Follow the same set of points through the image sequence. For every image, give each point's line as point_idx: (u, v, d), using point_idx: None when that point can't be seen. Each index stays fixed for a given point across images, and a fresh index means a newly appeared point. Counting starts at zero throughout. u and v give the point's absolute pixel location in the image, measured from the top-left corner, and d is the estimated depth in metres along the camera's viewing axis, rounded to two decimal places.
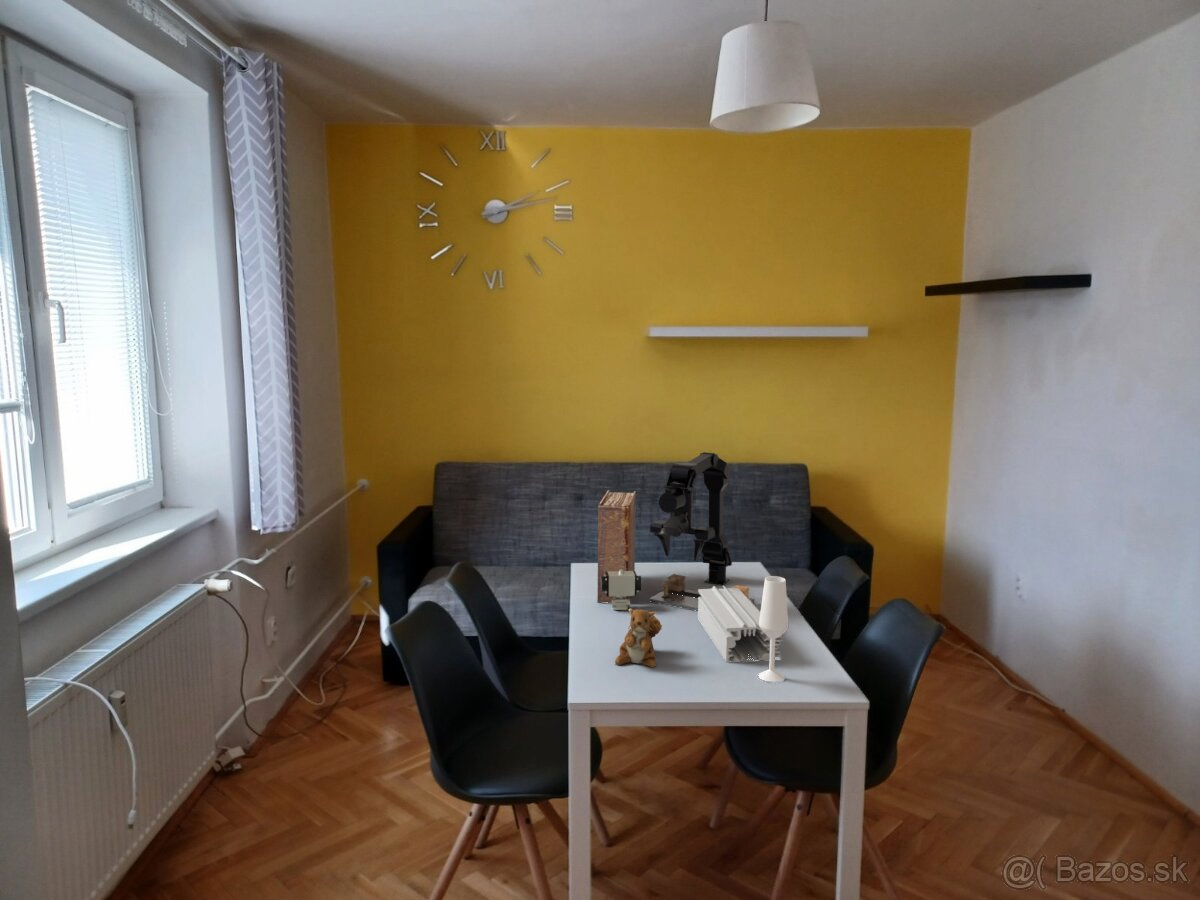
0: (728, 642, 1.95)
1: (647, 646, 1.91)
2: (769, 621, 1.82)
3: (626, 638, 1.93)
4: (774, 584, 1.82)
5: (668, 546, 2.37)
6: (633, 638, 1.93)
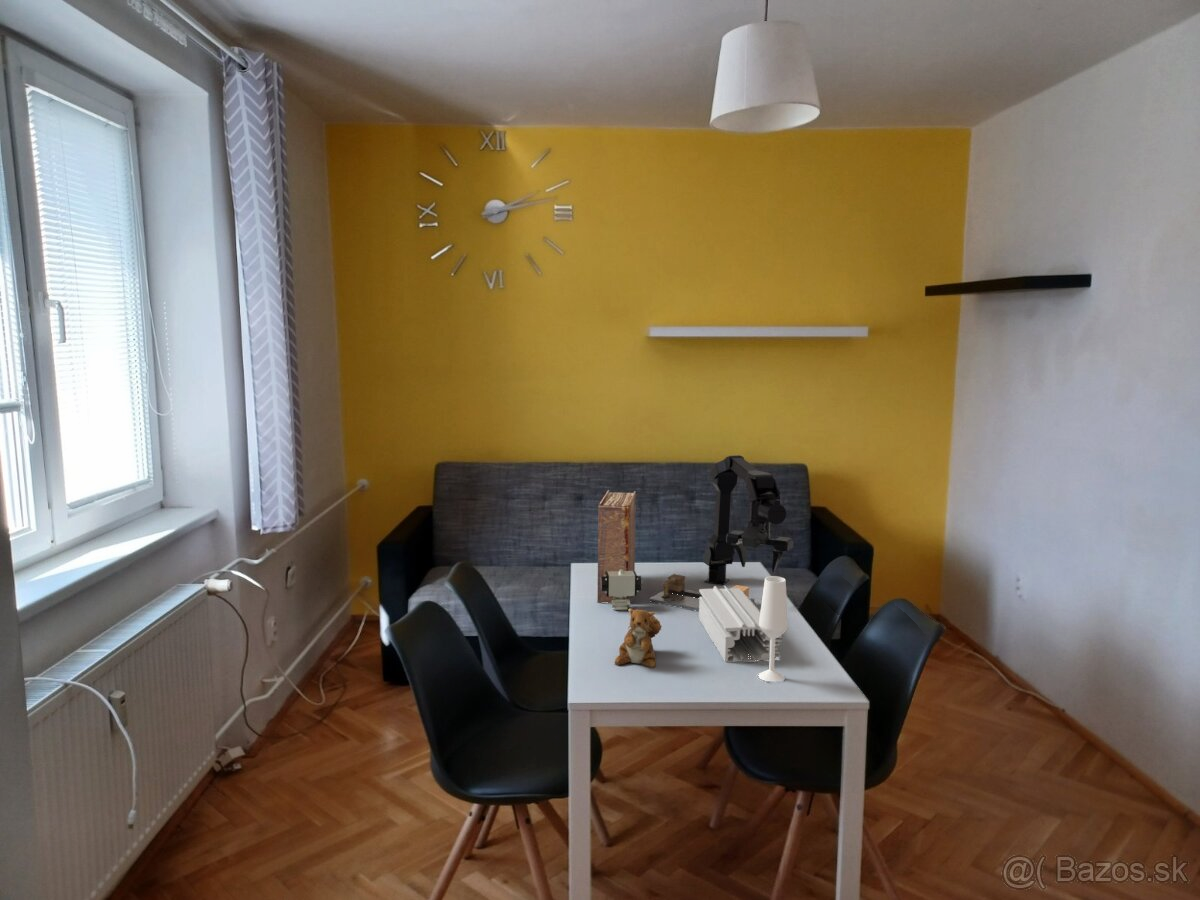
0: (727, 642, 1.95)
1: (647, 646, 1.91)
2: (769, 621, 1.82)
3: (626, 638, 1.93)
4: (774, 584, 1.82)
5: (744, 557, 2.34)
6: (633, 638, 1.93)
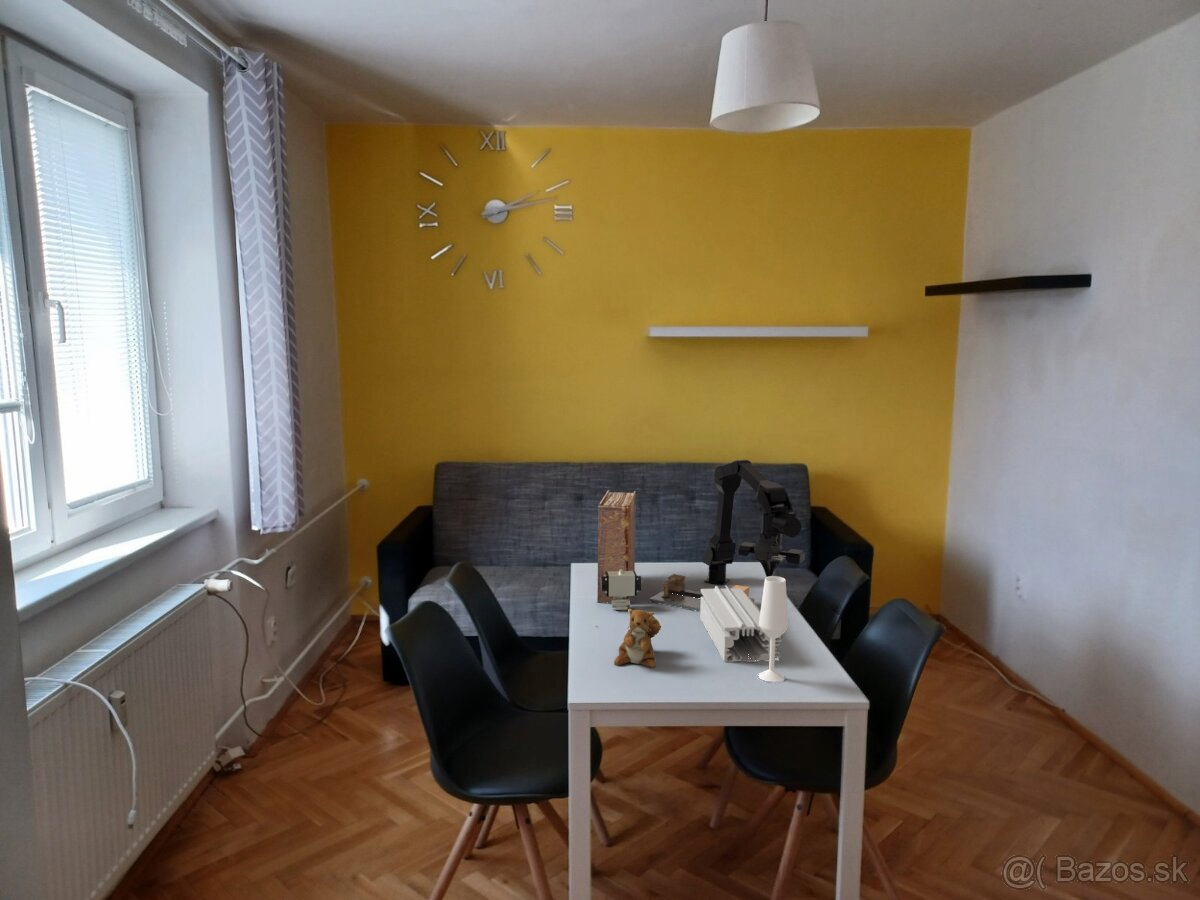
0: (726, 642, 1.95)
1: (646, 646, 1.91)
2: (769, 621, 1.82)
3: (625, 638, 1.93)
4: (774, 584, 1.82)
5: (769, 571, 2.32)
6: (632, 638, 1.92)
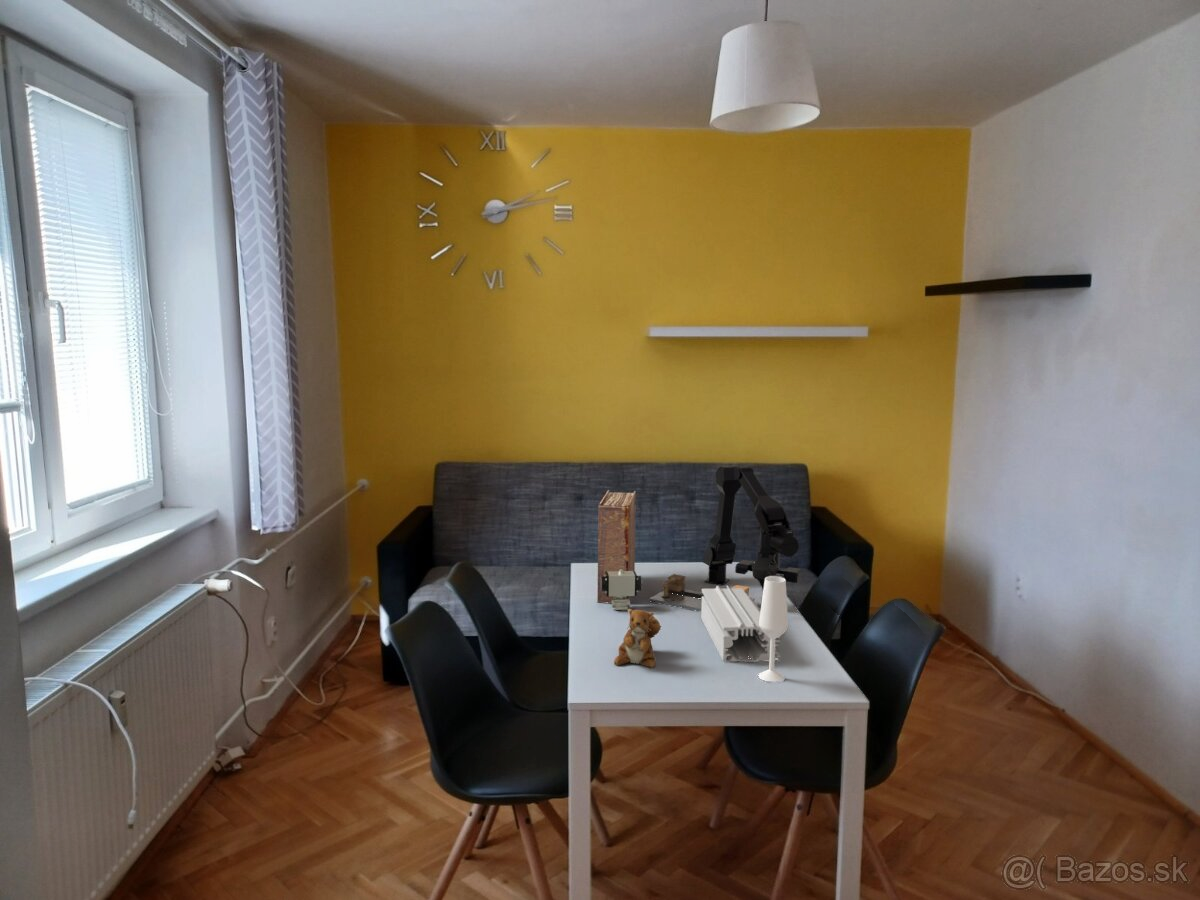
0: (725, 641, 1.95)
1: (646, 646, 1.91)
2: (769, 621, 1.82)
3: (625, 638, 1.93)
4: (774, 584, 1.82)
5: None
6: (632, 638, 1.92)
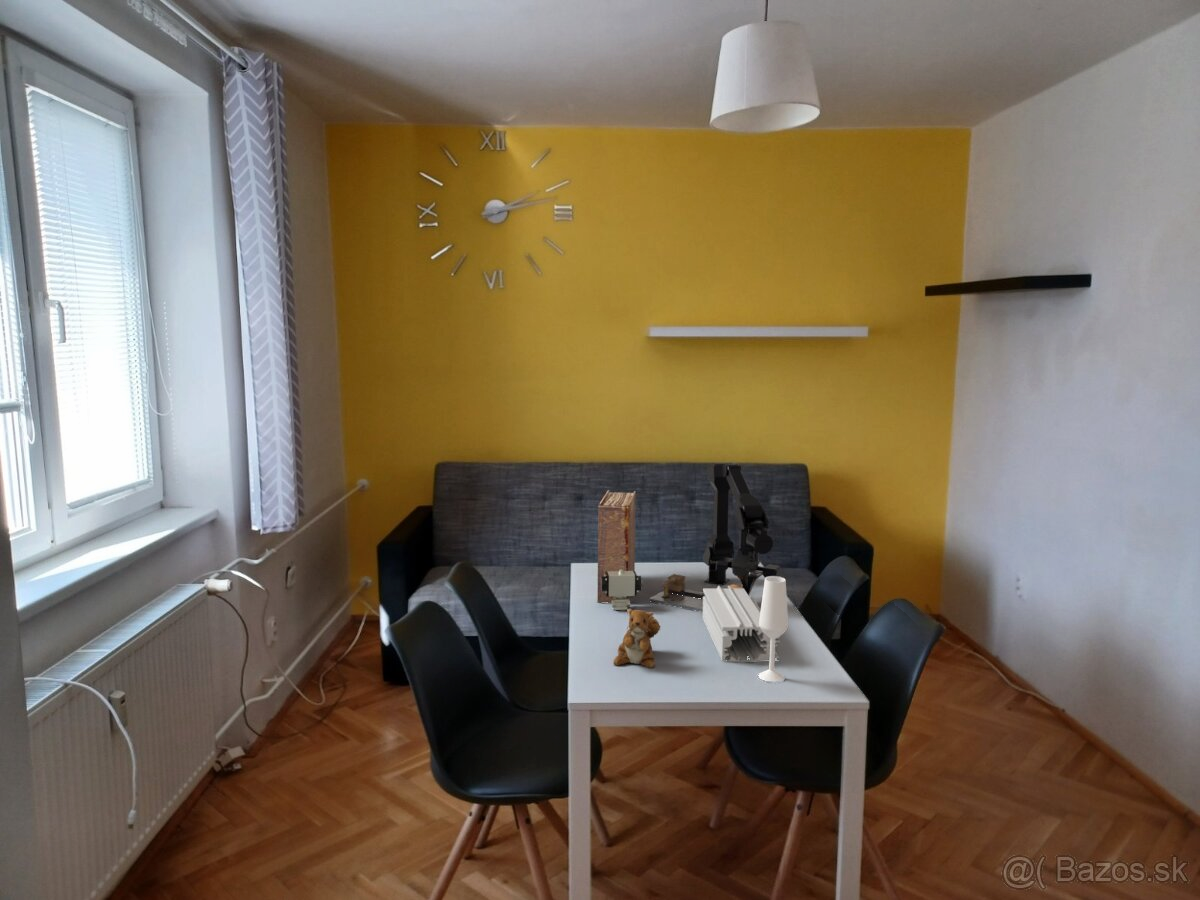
0: (724, 641, 1.96)
1: (645, 647, 1.91)
2: (769, 621, 1.82)
3: (624, 639, 1.93)
4: (774, 584, 1.82)
5: None
6: (631, 639, 1.92)
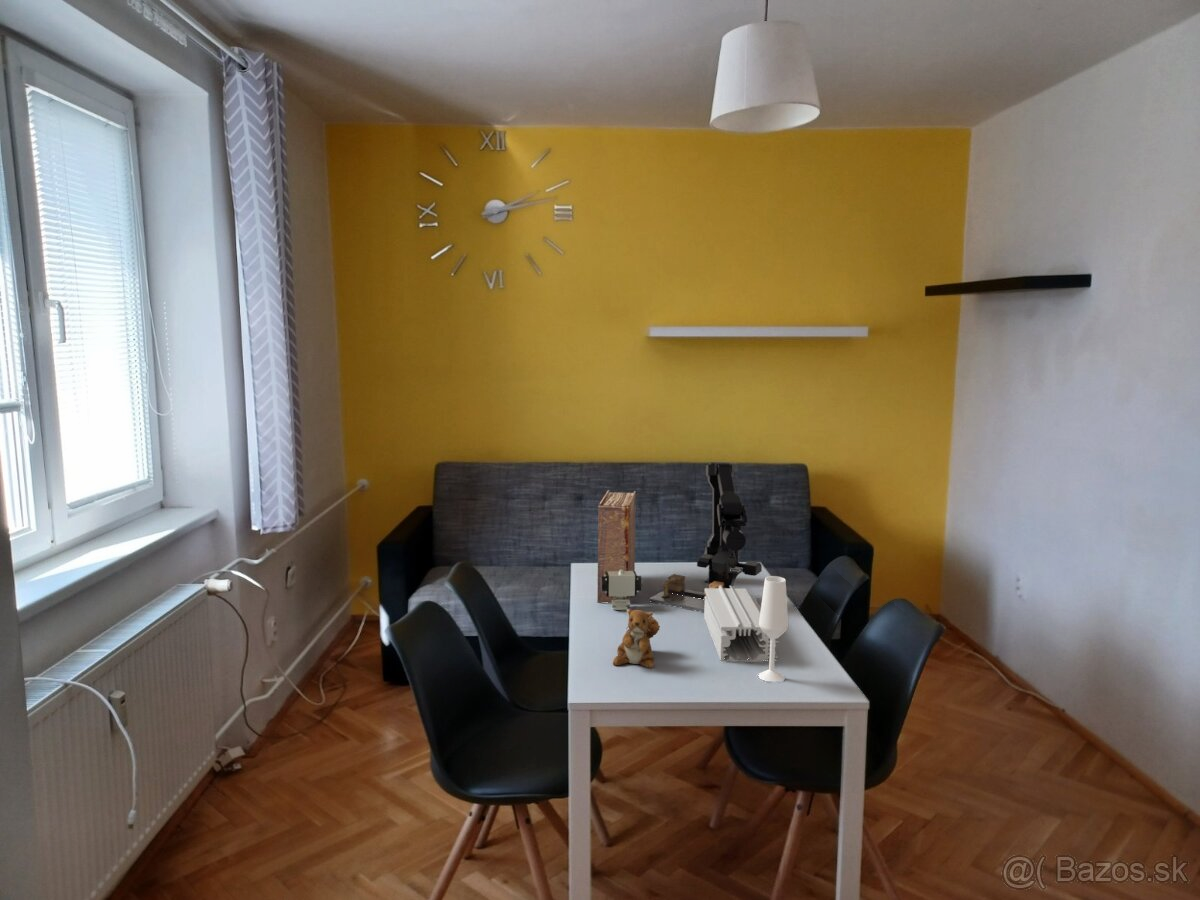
0: (723, 641, 1.96)
1: (645, 647, 1.90)
2: (769, 621, 1.82)
3: (624, 639, 1.93)
4: (774, 584, 1.82)
5: None
6: (631, 639, 1.92)
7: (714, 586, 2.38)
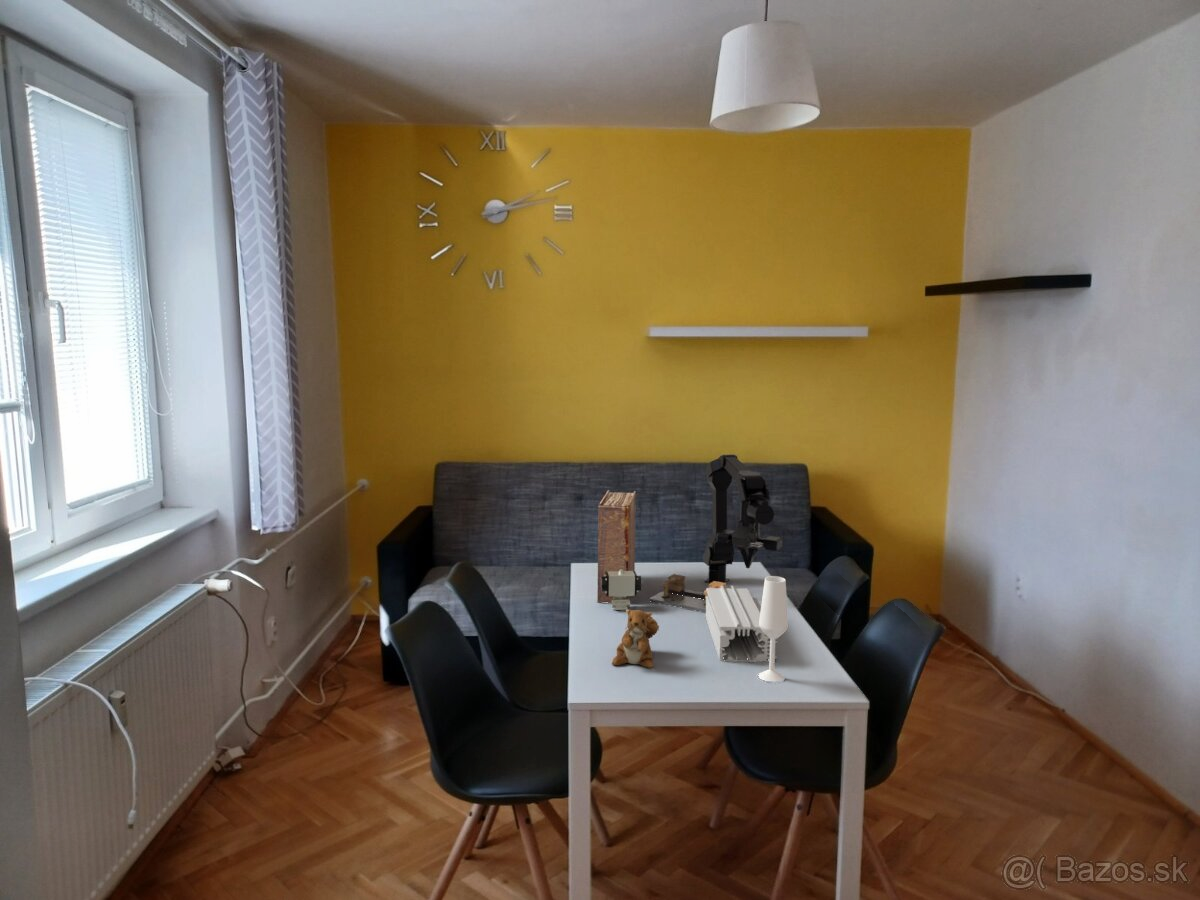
0: (722, 641, 1.96)
1: (644, 647, 1.90)
2: (769, 621, 1.82)
3: (623, 639, 1.92)
4: (774, 584, 1.82)
5: None
6: (630, 639, 1.92)
7: (714, 586, 2.38)
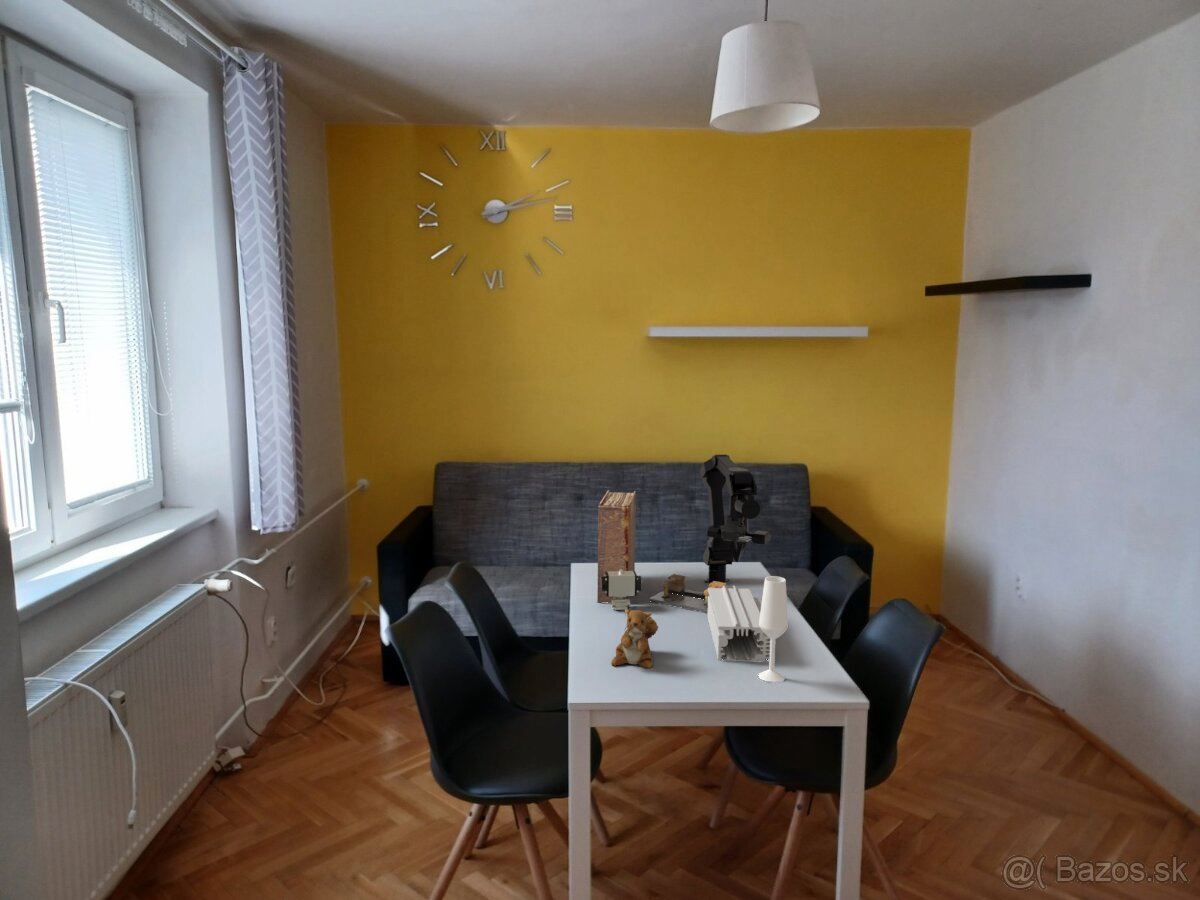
0: (720, 640, 1.96)
1: (643, 647, 1.90)
2: (769, 621, 1.82)
3: (622, 639, 1.92)
4: (774, 584, 1.82)
5: None
6: (629, 639, 1.92)
7: (714, 586, 2.38)
